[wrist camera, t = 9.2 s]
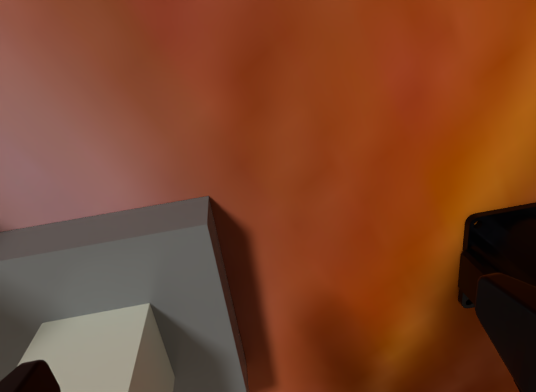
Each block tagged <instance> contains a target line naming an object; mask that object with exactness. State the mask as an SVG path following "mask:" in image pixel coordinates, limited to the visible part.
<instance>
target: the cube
mask: <svg viewBox="0 0 536 392" xmlns="http://www.w3.org/2000/svg"><path fill="white" fill-rule="evenodd" d="M35 360H44V361H46V362H47V363H48V365H49V367H50V369H51V371H52V373H53V375H54V376H55V378H56V380H57V382H58V384H59V386H60V390H61V392H173V388H174V380H175V376H174V373H173V370H172V367H171V364H170V361H169V358H168V355H167V353H166V350H165V347H164V344H163V341H162V338H161V335H160V332H159V329H158V326H157V323H156V320H155V317H154V314H153V311H152V309H151V306H150V303H148V304H142V305H137V306H131V307H126V308H121V309H115V310H110V311H104V312H99V313H94V314H88V315H83V316H77V317H72V318H67V319H61V320H56V321H50V322H45V323H42V324H41V326H40V328H39V329H38V331H37V333H36V335H35V336H34V338H33V340H32V341H31V343H30V345H29V347H28V348H27V350H26V352H25V353H24V355H23V357H22V359H21V360H20V362H19V364H18V365H20V364H22V363H24V362H29V361H35Z"/></svg>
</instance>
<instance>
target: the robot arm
mask: <svg viewBox="0 0 536 392" xmlns="http://www.w3.org/2000/svg"><path fill="white" fill-rule="evenodd" d="M476 221H478V222H477V223H476V224H475V225H474V223H475V222H476ZM458 287H459V296H458V301H459V303H460V304H461V305H462V306H463V307H464V308H472V307H475V311H476V315H477V317H478V319H479V321H480V322H481V324H482V326H483V327H484V329H485V331H486V333H487V334H488V336H489V338H490V339H491V341H492V343H493V345H494V346H495V348H496V350H497V351H498V353H499V355H500V356H501V358H502V360H503V362H504V363H505V365H506V367H507V368H508V370H509V372H510V373H511V375H512V377H513V378H514V382H515V384H516V386H517V387H518V389H519V391H520V392H536V203H530V204H525V205H519V206H514V207H508V208H503V209H497V210H492V211H486V212H481V213H475V214H472V215H470V216H469V217H468V218H467V219H466V222H465V230H464V241H463V251H462V253H461V260H460V271H459V282H458ZM0 392H61V390H60V386H59V384H58V382H57V380H56V378H55V376H54V375H53V373H52V371H51V369H50V367H49V365H48V363H47V362H46V361H44V360H35V361H29V362H24V363H22V364H20V365H18V366H17V367H16V368H15V369H14V370H13V371H11V372H10V373H9V374H8V375H7V376H6V377H4V378H3V379H2V380H1V381H0Z"/></svg>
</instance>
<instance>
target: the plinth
mask: <svg viewBox="0 0 536 392" xmlns="http://www.w3.org/2000/svg"><path fill="white" fill-rule="evenodd" d="M148 303H150V306H151V309H152V311H153V314H154V317H155V320H156V323H157V326H158V329H159V332H160V335H161V338H162V341H163V344H164V347H165V350H166V353H167V355H168V358H169V361H170V364H171V367H172V370H173V373H174V376H175V380H174V388H173V392H249V389H248V376H247V364H246V360H245V356H244V351H243V347H242V342H241V338H240V333H239V329H238V324H237V320H236V315H235V311H234V307H233V302H232V298H231V293H230V289H229V284H228V280H227V275H226V271H225V267H224V262H223V258H222V253H221V249H220V244H219V240H218V235H217V231H216V227H215V222H214V218H213V213H212V209H211V204H210V200H209V196H206V197H200V198H194V199H189V200H183V201H177V202H171V203H166V204H160V205H154V206H148V207H143V208H137V209H131V210H125V211H120V212H114V213H108V214H102V215H97V216H91V217H85V218H79V219H74V220H68V221H62V222H56V223H51V224H45V225H39V226H33V227H28V228H22V229H16V230H10V231H5V232H0V381H1V380H2V379H3V378H4V377H6V376H7V375H8V374H9V373H10V372H11V371H13V370H14V369H15V368H16V367H17V366H18V364H19V362H20V360H21V359H22V357H23V355H24V353H25V352H26V350H27V348H28V347H29V345H30V343H31V341H32V340H33V338H34V336H35V335H36V333H37V331H38V329H39V328H40V326H41V324H42V323H45V322H50V321H56V320H61V319H67V318H72V317H77V316H83V315H88V314H94V313H99V312H104V311H110V310H115V309H121V308H126V307H131V306H137V305H142V304H148Z"/></svg>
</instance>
